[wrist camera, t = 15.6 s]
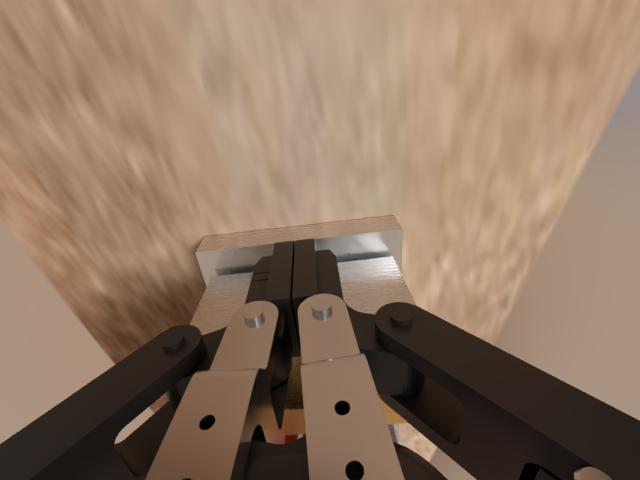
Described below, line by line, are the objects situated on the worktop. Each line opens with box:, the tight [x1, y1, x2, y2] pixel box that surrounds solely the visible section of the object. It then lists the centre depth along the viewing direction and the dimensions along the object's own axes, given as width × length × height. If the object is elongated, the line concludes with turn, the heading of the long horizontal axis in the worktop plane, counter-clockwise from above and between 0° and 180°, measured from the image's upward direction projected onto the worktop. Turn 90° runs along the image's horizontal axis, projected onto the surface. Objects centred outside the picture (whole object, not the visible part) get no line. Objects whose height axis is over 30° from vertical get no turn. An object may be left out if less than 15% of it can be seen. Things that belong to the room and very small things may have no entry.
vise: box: [195, 215, 403, 443], centre depth 16 cm, size 16×9×6 cm, turn 6°
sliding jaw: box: [190, 256, 416, 436], centre depth 12 cm, size 4×8×6 cm, turn 96°
